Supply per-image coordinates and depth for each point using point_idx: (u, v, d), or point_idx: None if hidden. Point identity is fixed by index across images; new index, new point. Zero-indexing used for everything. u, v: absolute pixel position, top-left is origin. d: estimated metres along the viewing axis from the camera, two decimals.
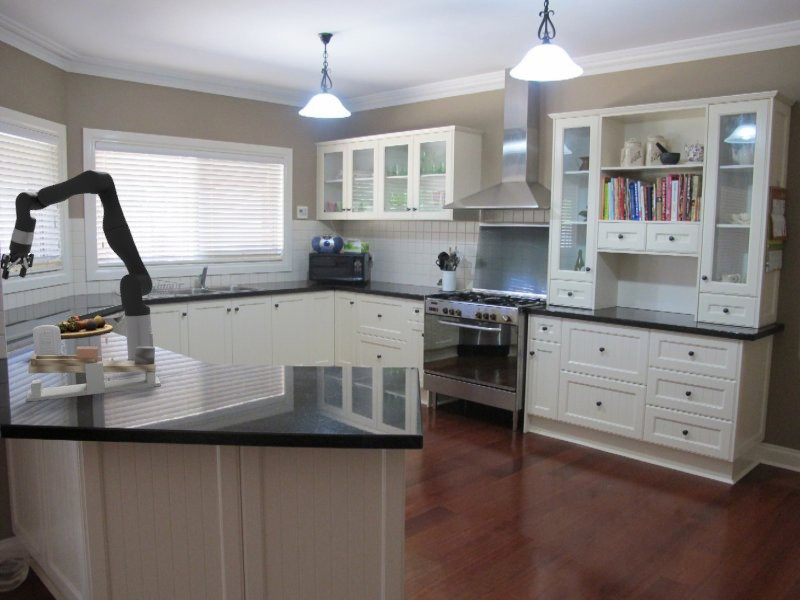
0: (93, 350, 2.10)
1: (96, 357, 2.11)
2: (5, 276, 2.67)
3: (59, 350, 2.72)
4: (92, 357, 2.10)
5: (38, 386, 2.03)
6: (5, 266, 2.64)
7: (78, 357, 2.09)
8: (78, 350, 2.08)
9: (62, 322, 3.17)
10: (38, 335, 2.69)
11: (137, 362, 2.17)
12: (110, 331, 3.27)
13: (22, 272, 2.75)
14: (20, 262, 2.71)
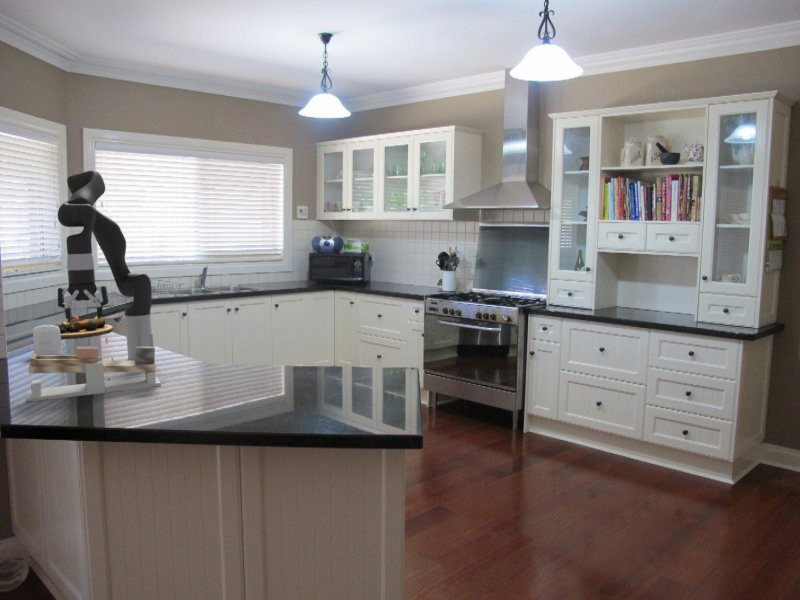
0: (93, 350, 2.10)
1: (96, 357, 2.11)
2: None
3: (59, 350, 2.72)
4: (92, 357, 2.10)
5: (38, 386, 2.03)
6: None
7: (78, 357, 2.09)
8: (78, 350, 2.08)
9: (62, 322, 3.17)
10: (38, 335, 2.69)
11: (137, 362, 2.17)
12: (110, 331, 3.27)
13: (70, 314, 2.11)
14: None
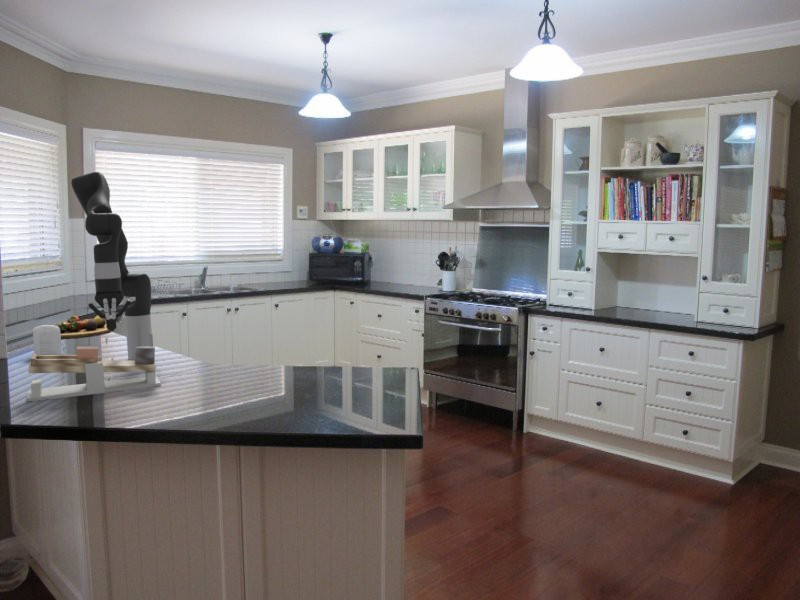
0: (93, 350, 2.10)
1: (96, 357, 2.11)
2: None
3: (59, 350, 2.72)
4: (92, 357, 2.10)
5: (38, 386, 2.03)
6: None
7: (78, 357, 2.09)
8: (78, 350, 2.08)
9: (62, 322, 3.17)
10: (38, 335, 2.69)
11: (137, 362, 2.17)
12: (110, 331, 3.27)
13: None
14: None
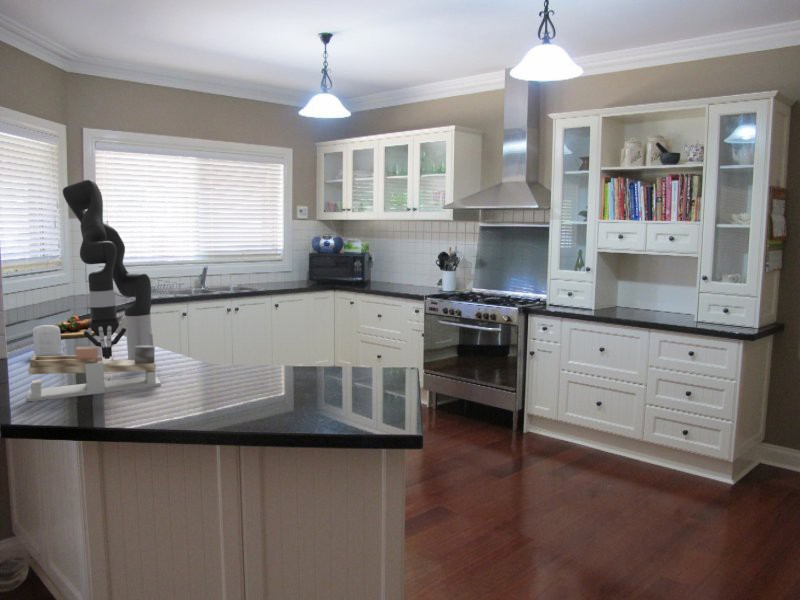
0: (93, 350, 2.10)
1: (96, 357, 2.11)
2: None
3: (59, 350, 2.72)
4: (92, 357, 2.10)
5: (38, 386, 2.03)
6: None
7: (78, 357, 2.08)
8: (78, 350, 2.08)
9: (62, 322, 3.17)
10: (38, 335, 2.69)
11: (137, 361, 2.17)
12: None
13: None
14: None
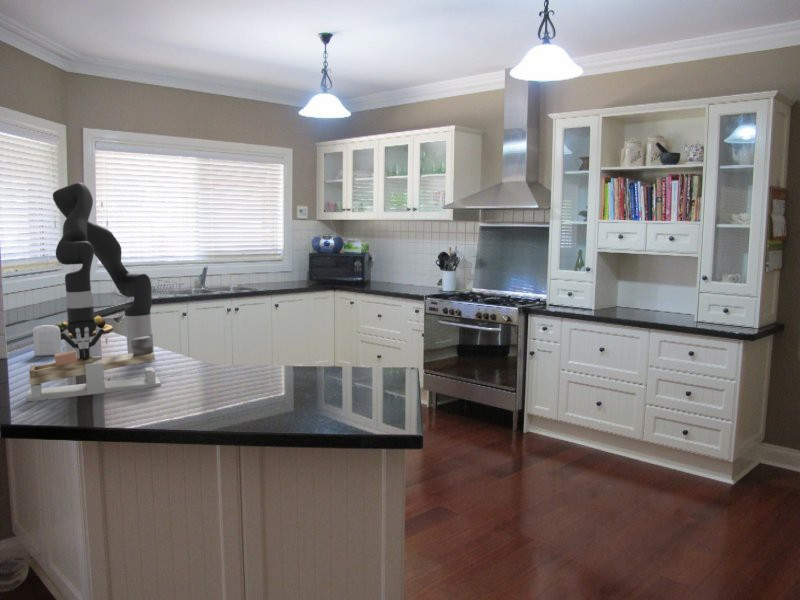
0: (71, 354, 2.07)
1: (76, 361, 2.08)
2: None
3: (59, 350, 2.72)
4: (72, 361, 2.08)
5: (38, 386, 2.03)
6: None
7: (58, 364, 2.06)
8: (56, 357, 2.06)
9: (62, 322, 3.17)
10: (38, 335, 2.69)
11: (135, 354, 2.16)
12: (110, 331, 3.27)
13: None
14: None
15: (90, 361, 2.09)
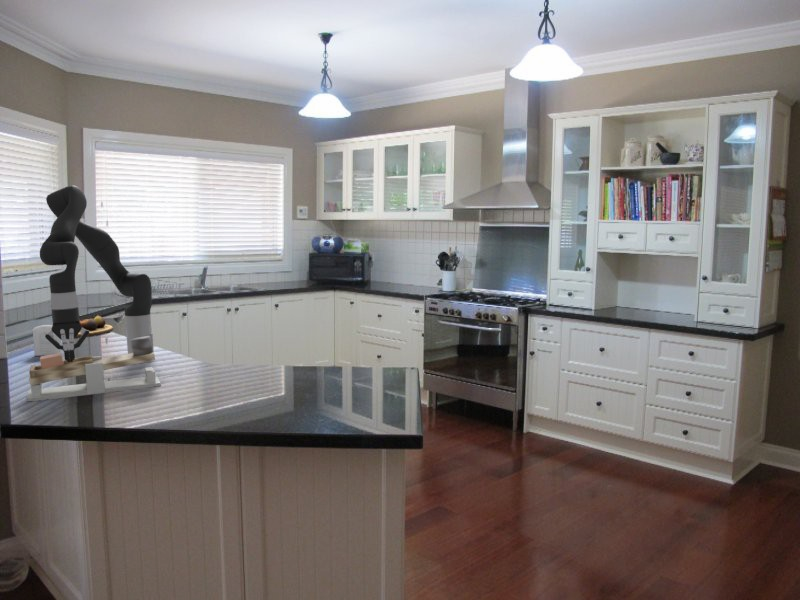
0: (57, 357, 2.06)
1: (62, 363, 2.06)
2: None
3: (59, 350, 2.72)
4: (57, 364, 2.06)
5: (38, 386, 2.03)
6: None
7: (43, 367, 2.04)
8: (41, 360, 2.04)
9: None
10: (38, 335, 2.69)
11: (135, 354, 2.16)
12: (110, 331, 3.27)
13: (69, 355, 2.09)
14: None
15: (90, 361, 2.09)
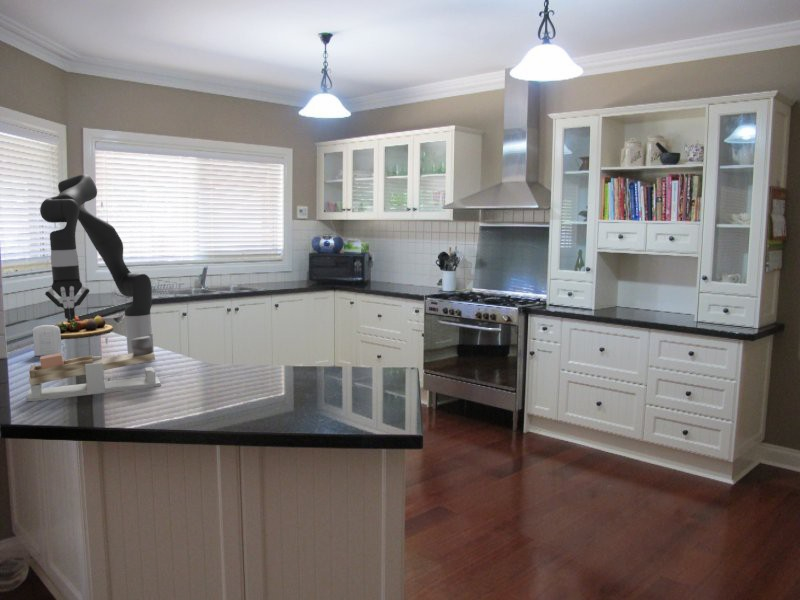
0: (57, 357, 2.06)
1: (62, 363, 2.06)
2: None
3: (59, 350, 2.72)
4: (57, 364, 2.06)
5: (38, 386, 2.03)
6: None
7: (43, 367, 2.04)
8: (41, 360, 2.04)
9: (62, 322, 3.17)
10: (38, 335, 2.69)
11: (135, 354, 2.16)
12: (110, 331, 3.27)
13: None
14: None
15: (90, 361, 2.09)
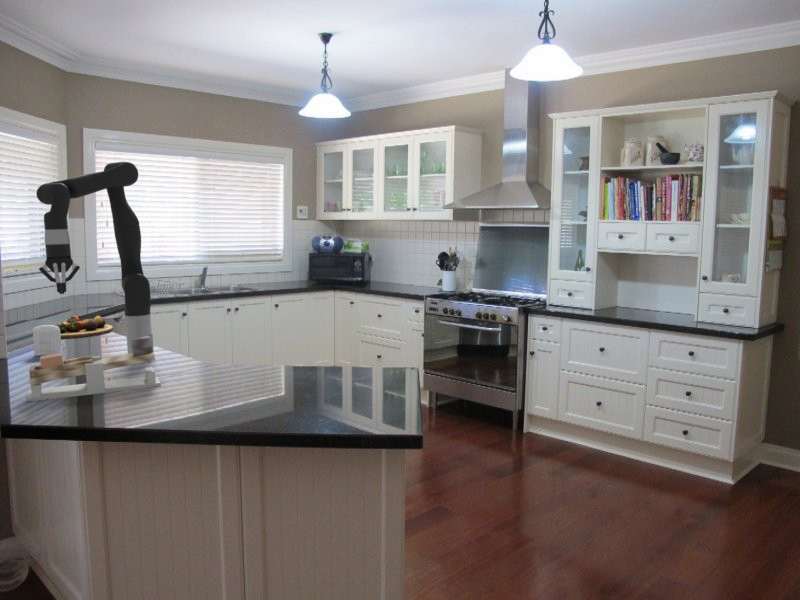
0: (57, 357, 2.06)
1: (62, 363, 2.06)
2: None
3: (59, 350, 2.72)
4: (57, 364, 2.06)
5: (38, 386, 2.03)
6: None
7: (43, 367, 2.04)
8: (41, 360, 2.04)
9: (62, 322, 3.17)
10: (38, 335, 2.69)
11: (135, 354, 2.16)
12: (110, 331, 3.27)
13: (61, 288, 2.29)
14: None
15: (90, 361, 2.09)
